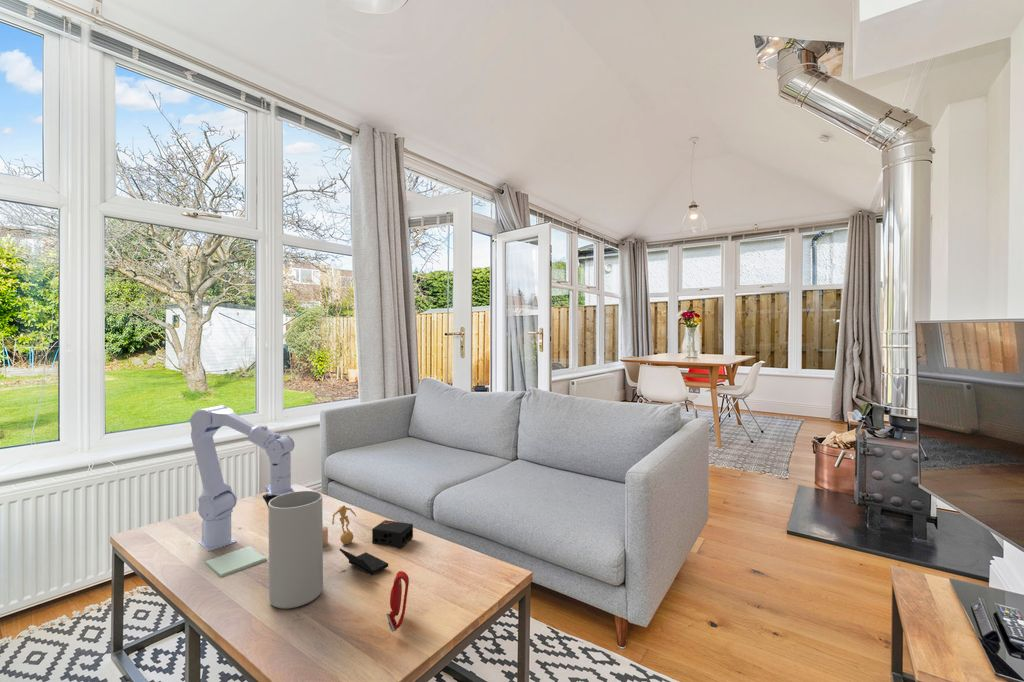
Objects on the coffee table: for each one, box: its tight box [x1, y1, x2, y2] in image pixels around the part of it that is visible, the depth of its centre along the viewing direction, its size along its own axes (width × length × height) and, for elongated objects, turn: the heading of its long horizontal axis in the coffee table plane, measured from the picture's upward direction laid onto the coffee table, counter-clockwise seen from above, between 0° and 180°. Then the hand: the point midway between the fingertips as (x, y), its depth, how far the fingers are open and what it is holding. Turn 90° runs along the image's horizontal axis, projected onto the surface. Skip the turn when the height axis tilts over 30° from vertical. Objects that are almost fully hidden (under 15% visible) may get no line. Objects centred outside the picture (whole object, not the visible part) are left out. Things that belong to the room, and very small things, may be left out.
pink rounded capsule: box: [323, 526, 329, 548], centre depth 142 cm, size 5×5×5 cm
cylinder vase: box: [267, 490, 324, 610], centre depth 115 cm, size 12×12×25 cm
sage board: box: [204, 545, 267, 578], centre depth 131 cm, size 12×12×1 cm
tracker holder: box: [386, 570, 410, 633], centre depth 105 cm, size 12×4×10 cm, turn 5°
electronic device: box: [371, 519, 414, 549], centre depth 146 cm, size 7×11×5 cm
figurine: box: [331, 505, 357, 545], centre depth 144 cm, size 8×6×12 cm
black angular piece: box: [338, 548, 389, 576], centre depth 128 cm, size 12×7×10 cm
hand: (280, 518), depth 140 cm, fingers open, 7 cm apart
